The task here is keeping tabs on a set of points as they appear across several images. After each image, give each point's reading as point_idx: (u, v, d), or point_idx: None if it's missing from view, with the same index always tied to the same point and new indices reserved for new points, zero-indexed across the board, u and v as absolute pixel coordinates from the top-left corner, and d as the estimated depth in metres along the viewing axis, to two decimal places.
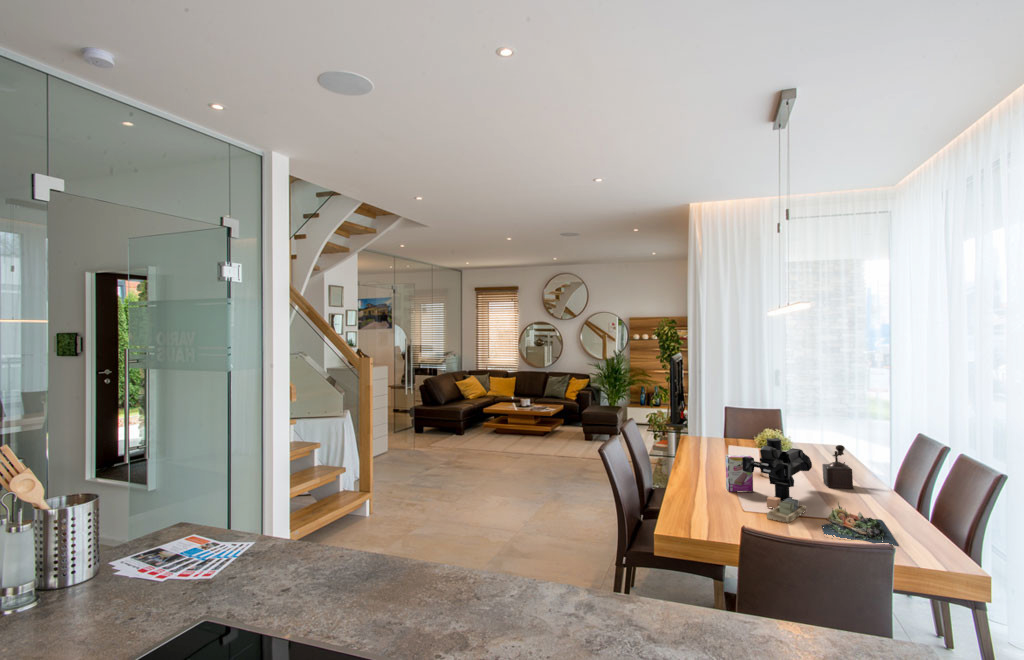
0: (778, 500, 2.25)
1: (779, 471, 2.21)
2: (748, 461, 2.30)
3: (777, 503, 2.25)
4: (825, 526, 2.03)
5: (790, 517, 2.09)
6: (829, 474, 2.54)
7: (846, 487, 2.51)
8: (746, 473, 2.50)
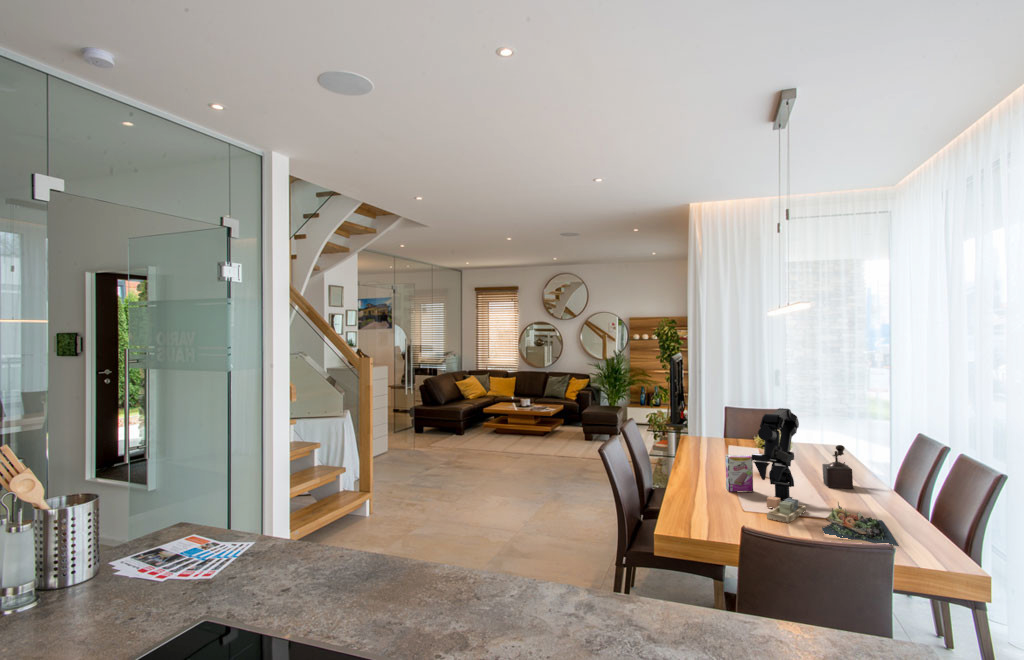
0: (778, 500, 2.25)
1: None
2: (766, 465, 2.22)
3: (777, 503, 2.25)
4: None
5: (790, 517, 2.09)
6: (829, 474, 2.54)
7: (846, 487, 2.51)
8: (746, 473, 2.50)
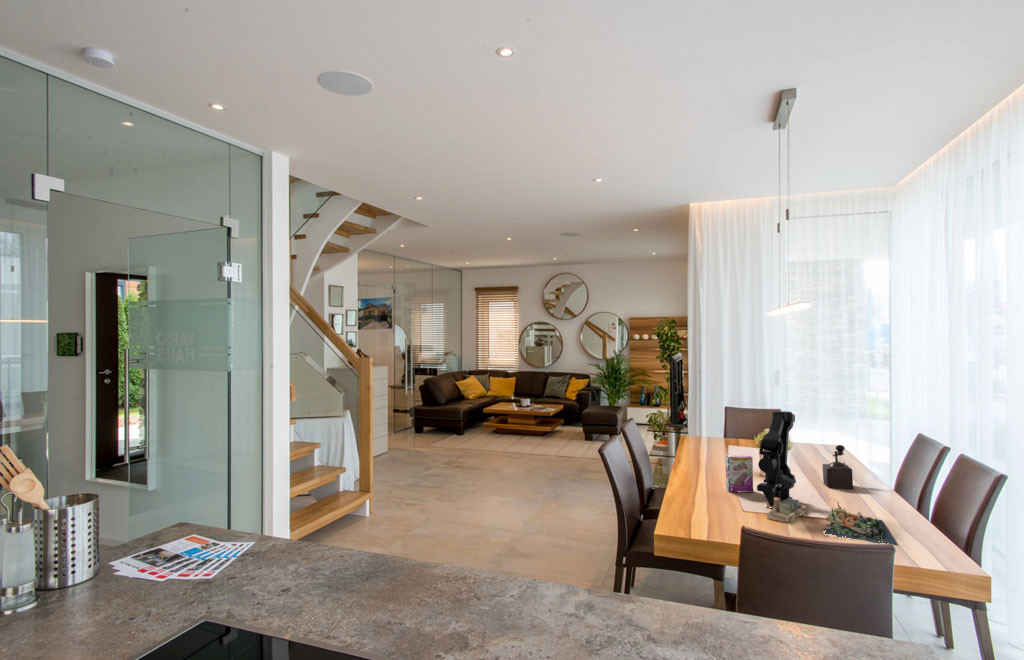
0: (778, 500, 2.25)
1: None
2: (774, 493, 2.23)
3: (777, 503, 2.25)
4: None
5: (790, 517, 2.09)
6: (829, 474, 2.54)
7: (846, 487, 2.51)
8: (746, 473, 2.50)
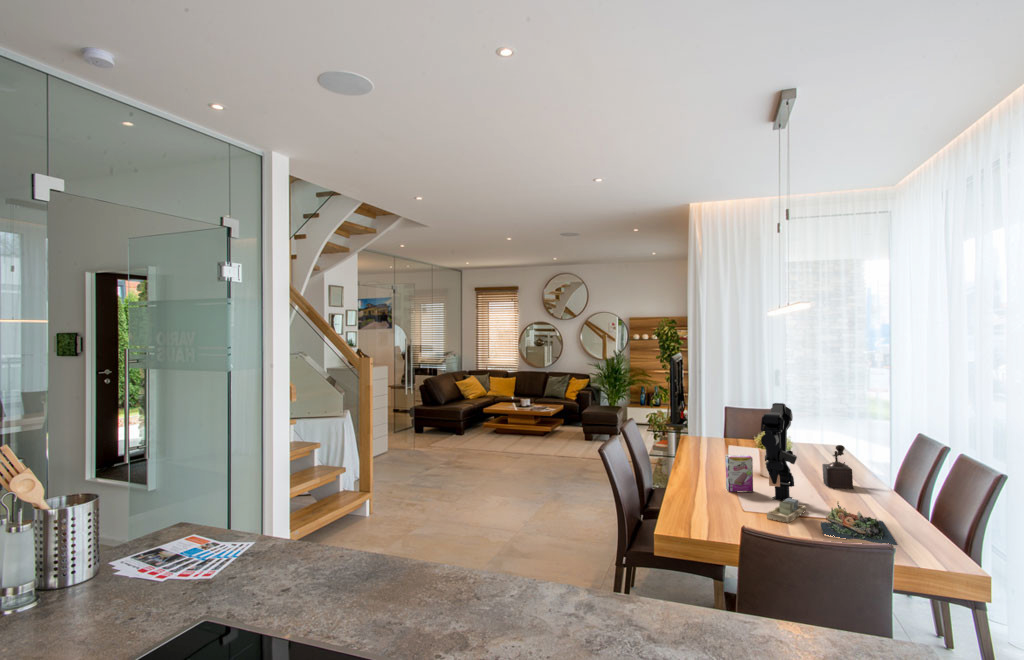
0: (779, 477, 2.22)
1: None
2: (779, 470, 2.19)
3: (779, 480, 2.21)
4: (824, 525, 2.03)
5: (790, 517, 2.09)
6: (829, 474, 2.54)
7: (846, 487, 2.51)
8: (746, 473, 2.50)
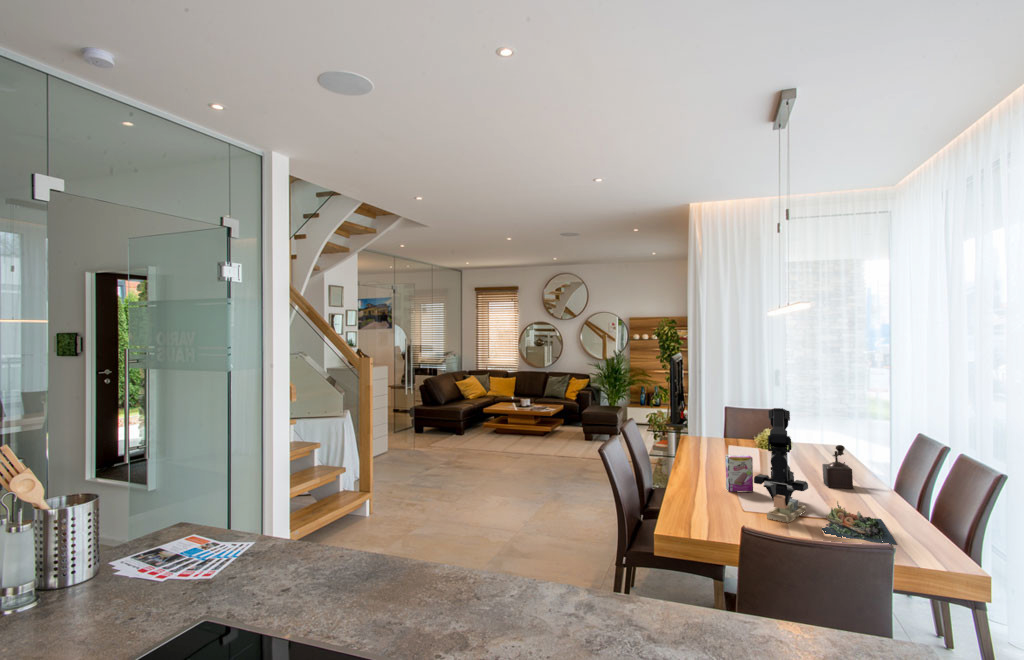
0: None
1: None
2: None
3: None
4: None
5: (790, 517, 2.09)
6: (829, 474, 2.54)
7: (846, 487, 2.51)
8: (746, 473, 2.50)
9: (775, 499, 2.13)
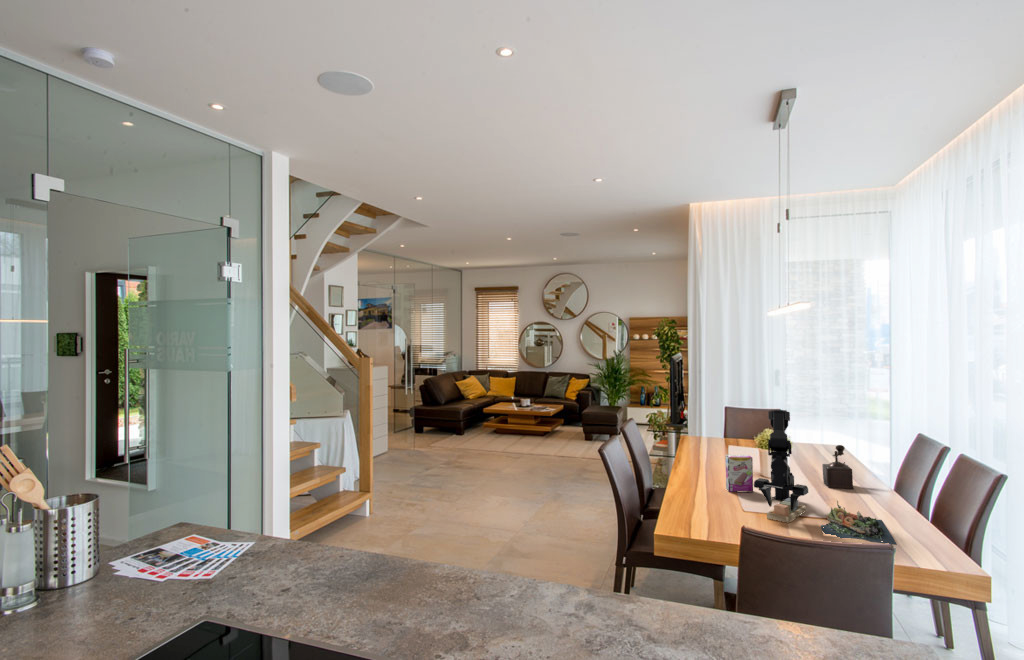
0: None
1: None
2: None
3: None
4: (824, 525, 2.04)
5: (790, 517, 2.09)
6: (829, 474, 2.54)
7: (846, 487, 2.51)
8: (746, 473, 2.50)
9: (775, 508, 2.13)
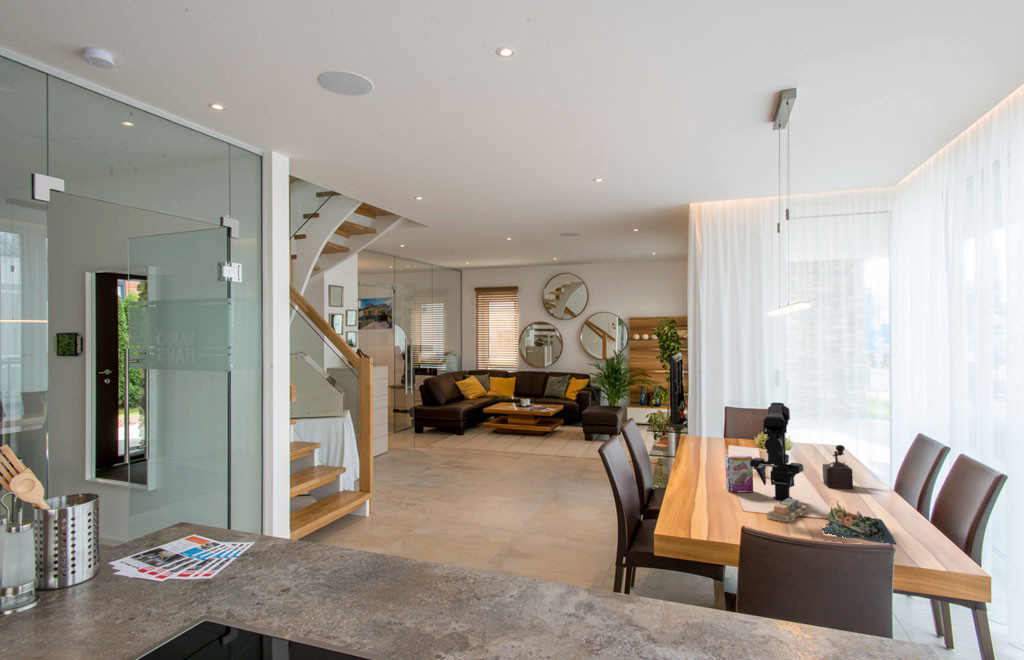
0: None
1: None
2: None
3: None
4: None
5: (790, 517, 2.09)
6: (829, 474, 2.54)
7: (846, 487, 2.51)
8: (746, 473, 2.50)
9: (775, 508, 2.13)
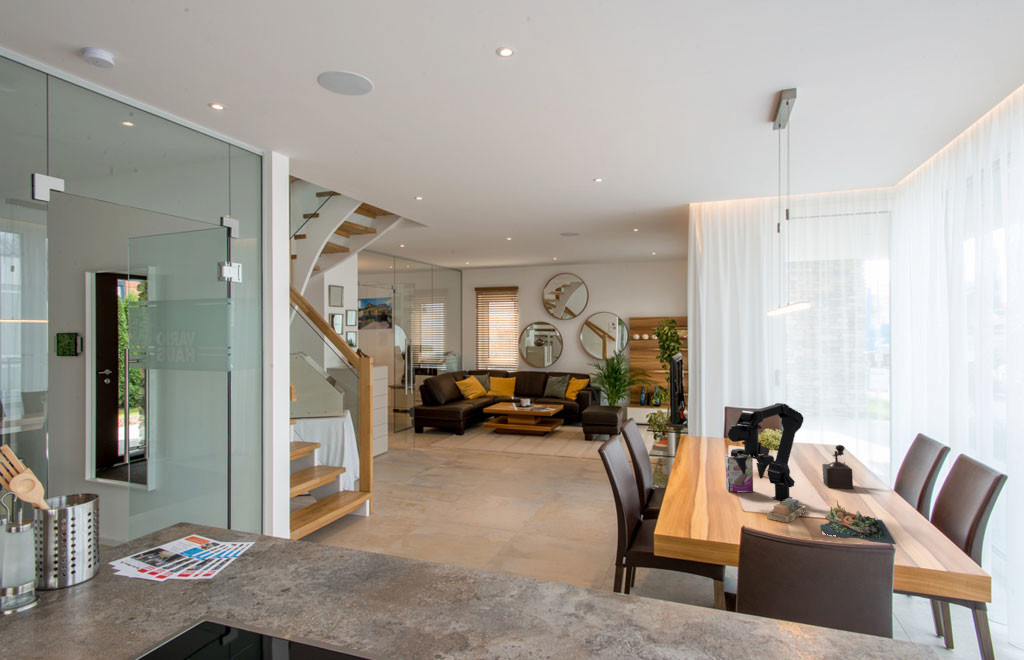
0: None
1: None
2: None
3: None
4: (823, 524, 2.04)
5: (790, 517, 2.09)
6: (829, 474, 2.54)
7: (846, 487, 2.51)
8: (746, 473, 2.50)
9: (775, 508, 2.13)
